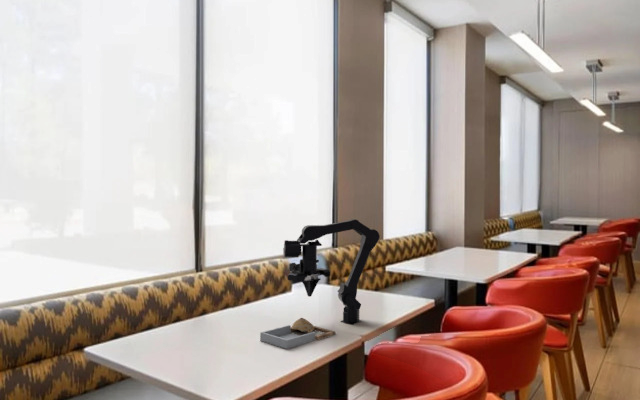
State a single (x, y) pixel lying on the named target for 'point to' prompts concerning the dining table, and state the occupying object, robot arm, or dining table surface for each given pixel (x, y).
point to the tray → (285, 337)
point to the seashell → (303, 325)
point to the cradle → (326, 331)
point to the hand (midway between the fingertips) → (309, 296)
